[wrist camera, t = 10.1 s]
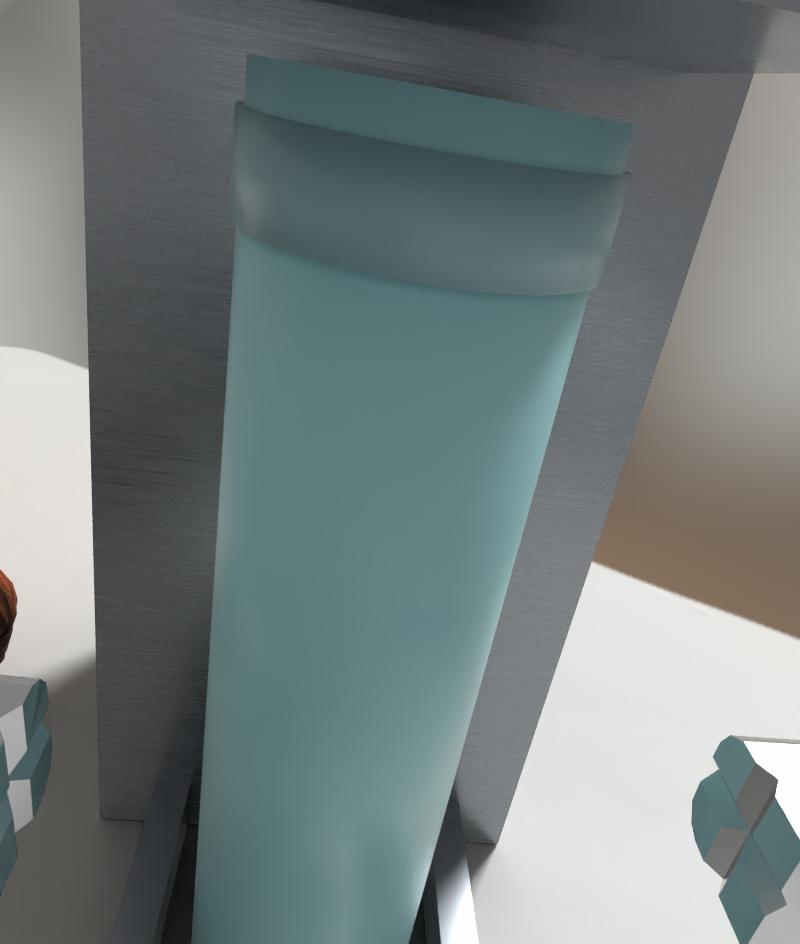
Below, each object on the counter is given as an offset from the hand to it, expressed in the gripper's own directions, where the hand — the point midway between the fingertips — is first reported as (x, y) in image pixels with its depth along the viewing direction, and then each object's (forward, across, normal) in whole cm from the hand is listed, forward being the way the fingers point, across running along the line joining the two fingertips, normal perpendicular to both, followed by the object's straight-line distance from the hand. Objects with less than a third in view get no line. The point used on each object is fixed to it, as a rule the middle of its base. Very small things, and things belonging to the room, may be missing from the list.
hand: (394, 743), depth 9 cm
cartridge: (+3, 0, -10) cm, 10 cm away
